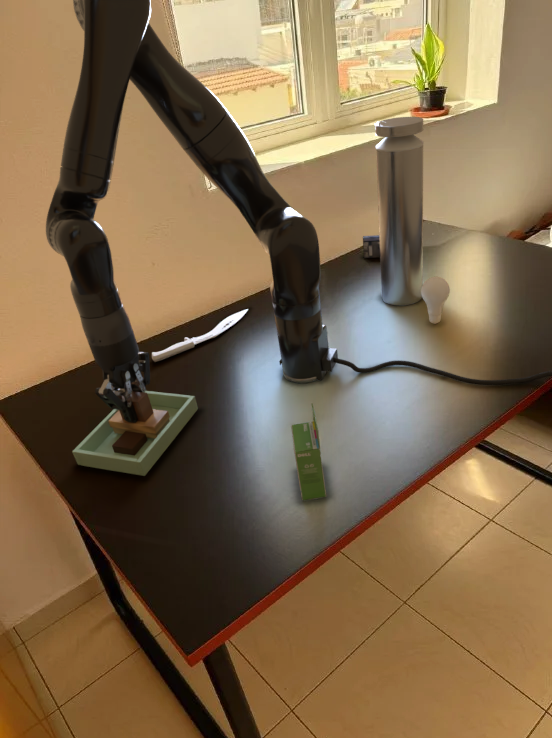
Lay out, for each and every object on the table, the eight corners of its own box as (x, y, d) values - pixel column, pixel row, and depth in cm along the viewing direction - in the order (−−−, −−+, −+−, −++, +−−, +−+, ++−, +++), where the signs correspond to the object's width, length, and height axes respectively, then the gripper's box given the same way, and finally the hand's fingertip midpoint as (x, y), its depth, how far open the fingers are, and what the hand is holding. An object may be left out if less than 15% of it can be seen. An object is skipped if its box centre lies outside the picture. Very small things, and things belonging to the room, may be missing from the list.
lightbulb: (418, 328, 128) (418, 282, 122) (424, 316, 133) (424, 271, 127) (445, 330, 126) (447, 284, 120) (451, 317, 131) (452, 272, 124)
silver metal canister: (429, 291, 143) (431, 116, 121) (412, 308, 137) (411, 126, 114) (392, 285, 149) (387, 117, 126) (374, 302, 142) (366, 127, 119)
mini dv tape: (363, 258, 167) (362, 237, 163) (364, 256, 168) (363, 236, 164) (392, 256, 165) (391, 236, 161) (392, 254, 166) (392, 234, 163)
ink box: (298, 471, 94) (287, 405, 86) (321, 468, 94) (313, 401, 86) (301, 501, 88) (290, 433, 81) (327, 498, 88) (318, 429, 81)
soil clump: (147, 440, 105) (145, 433, 104) (134, 455, 102) (132, 448, 101) (127, 437, 106) (125, 430, 106) (114, 452, 103) (111, 445, 102)
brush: (172, 423, 107) (161, 390, 103) (158, 440, 104) (147, 406, 99) (127, 417, 111) (116, 385, 106) (112, 433, 107) (100, 401, 103)
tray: (198, 410, 112) (194, 395, 110) (145, 478, 97) (139, 462, 95) (138, 403, 117) (133, 389, 115) (78, 467, 102) (71, 451, 100)
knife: (247, 305, 147) (264, 314, 142) (248, 311, 148) (265, 320, 142) (139, 346, 133) (153, 357, 128) (141, 352, 134) (155, 363, 129)
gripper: (103, 356, 89) (134, 441, 99) (150, 315, 100) (174, 396, 109) (64, 352, 92) (99, 436, 101) (115, 312, 102) (141, 392, 112)
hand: (138, 415), depth 105 cm, fingers closed on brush, 3 cm apart
